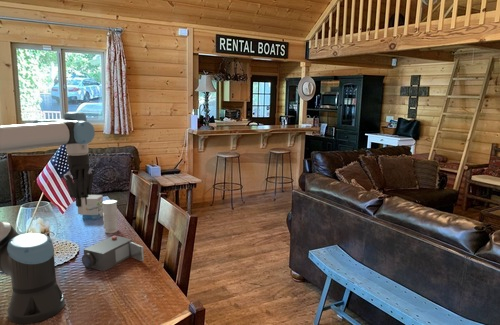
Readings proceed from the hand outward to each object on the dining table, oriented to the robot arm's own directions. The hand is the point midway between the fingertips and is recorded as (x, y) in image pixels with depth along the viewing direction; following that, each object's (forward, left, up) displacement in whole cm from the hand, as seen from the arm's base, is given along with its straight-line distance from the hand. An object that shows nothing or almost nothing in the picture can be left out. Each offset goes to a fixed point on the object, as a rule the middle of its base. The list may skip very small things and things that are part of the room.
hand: (82, 213), depth 141 cm
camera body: (+5, -6, -21) cm, 22 cm away
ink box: (+44, +43, -21) cm, 65 cm away
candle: (+32, +18, -21) cm, 42 cm away
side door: (+12, -15, -20) cm, 28 cm away
